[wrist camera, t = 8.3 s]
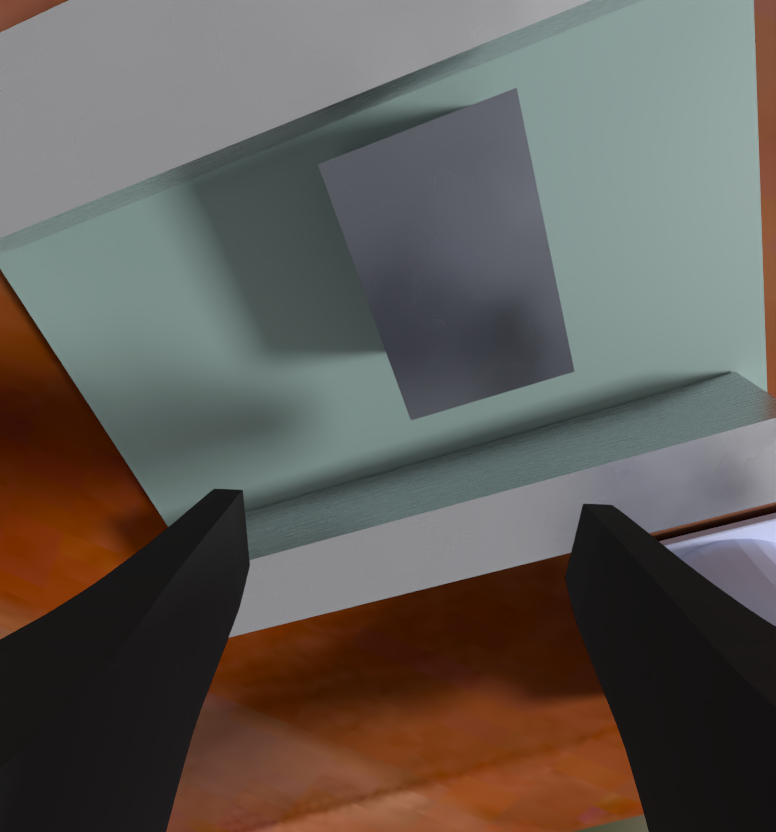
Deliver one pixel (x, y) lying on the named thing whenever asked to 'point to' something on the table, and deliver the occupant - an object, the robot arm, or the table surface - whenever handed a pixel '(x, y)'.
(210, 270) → the vise base
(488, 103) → the steel block
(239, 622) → the bar
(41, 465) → the table surface
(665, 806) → the robot arm
